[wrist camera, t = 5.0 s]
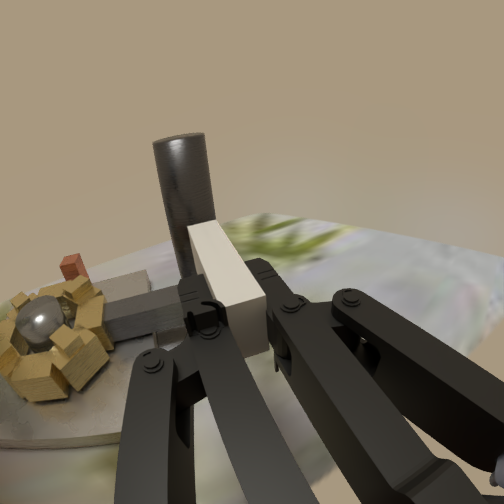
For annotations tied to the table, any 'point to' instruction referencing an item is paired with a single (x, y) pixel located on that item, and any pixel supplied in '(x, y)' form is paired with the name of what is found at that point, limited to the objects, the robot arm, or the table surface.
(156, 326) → the tan ring with handle
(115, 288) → the flange plate
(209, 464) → the table surface
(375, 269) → the table surface
